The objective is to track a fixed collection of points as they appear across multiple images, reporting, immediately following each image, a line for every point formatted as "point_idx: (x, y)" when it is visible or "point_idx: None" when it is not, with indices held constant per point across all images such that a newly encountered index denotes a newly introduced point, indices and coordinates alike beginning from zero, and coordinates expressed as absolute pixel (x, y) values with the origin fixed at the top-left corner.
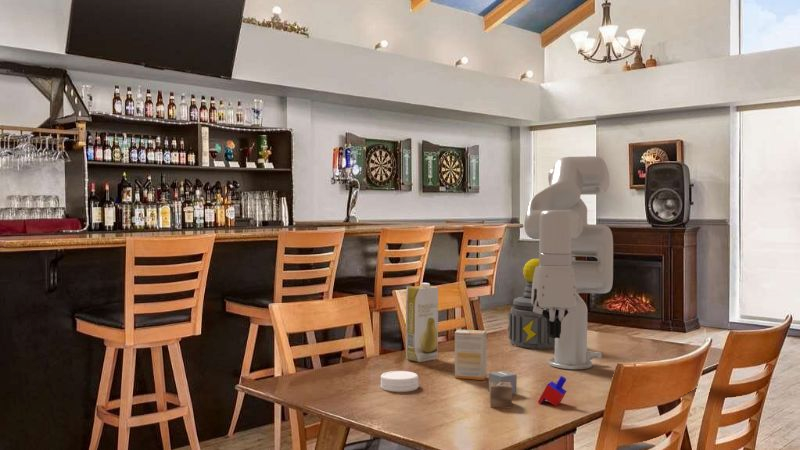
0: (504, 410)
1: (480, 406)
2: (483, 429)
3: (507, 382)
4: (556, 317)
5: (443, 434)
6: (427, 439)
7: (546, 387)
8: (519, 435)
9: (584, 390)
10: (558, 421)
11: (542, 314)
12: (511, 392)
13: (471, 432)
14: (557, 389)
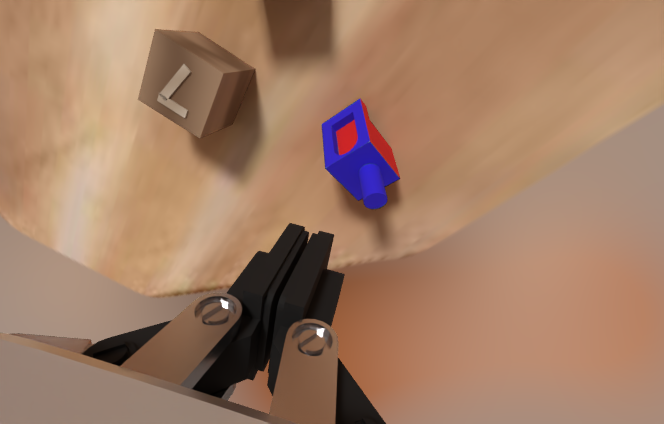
0: None
1: None
2: (116, 221)
3: (211, 73)
4: (275, 382)
5: (42, 207)
6: (15, 214)
7: (326, 162)
8: (168, 276)
9: (617, 55)
10: None
11: (127, 344)
12: (207, 134)
13: (91, 223)
14: (356, 182)
